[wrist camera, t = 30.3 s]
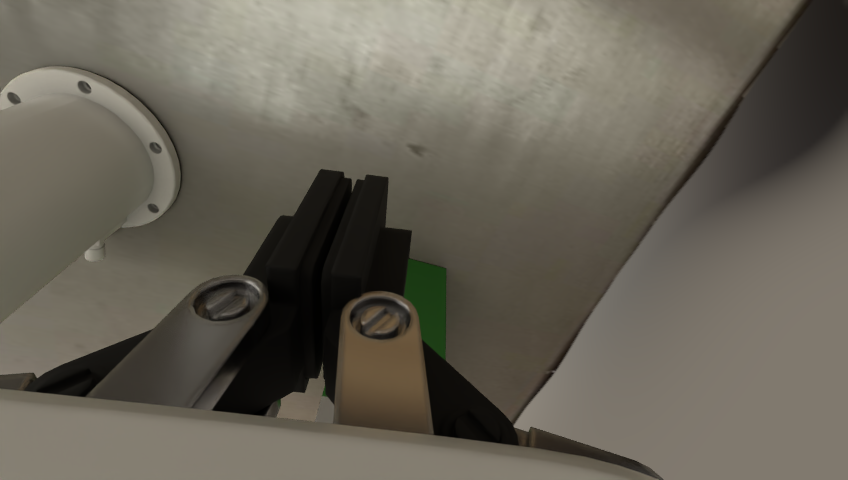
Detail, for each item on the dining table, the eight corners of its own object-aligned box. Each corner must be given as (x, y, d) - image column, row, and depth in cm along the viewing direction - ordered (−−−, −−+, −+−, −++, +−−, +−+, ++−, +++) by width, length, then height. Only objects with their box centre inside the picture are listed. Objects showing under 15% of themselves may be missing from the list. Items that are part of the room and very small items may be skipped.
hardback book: (396, 389, 48) (358, 701, 28) (329, 373, 47) (243, 685, 27) (446, 268, 38) (443, 615, 19) (364, 246, 38) (268, 586, 18)
